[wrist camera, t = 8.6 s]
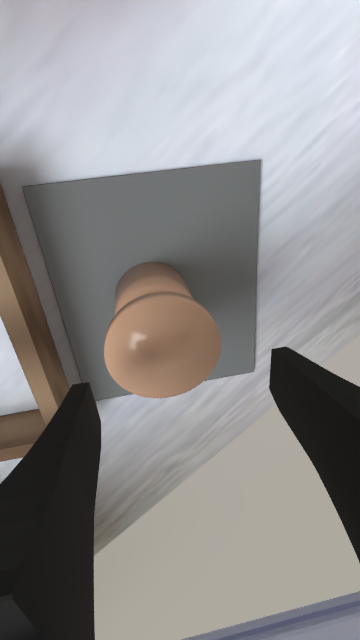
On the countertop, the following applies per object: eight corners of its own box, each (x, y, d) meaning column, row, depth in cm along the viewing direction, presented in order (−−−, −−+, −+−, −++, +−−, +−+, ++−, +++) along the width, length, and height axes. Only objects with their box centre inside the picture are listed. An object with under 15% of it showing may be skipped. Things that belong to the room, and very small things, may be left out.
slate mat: (252, 370, 24) (253, 371, 24) (88, 400, 23) (88, 402, 22) (258, 159, 17) (259, 160, 17) (23, 186, 16) (21, 187, 16)
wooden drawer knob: (196, 327, 21) (222, 387, 16) (116, 340, 20) (115, 406, 15) (191, 249, 18) (220, 291, 13) (99, 261, 18) (92, 309, 13)
